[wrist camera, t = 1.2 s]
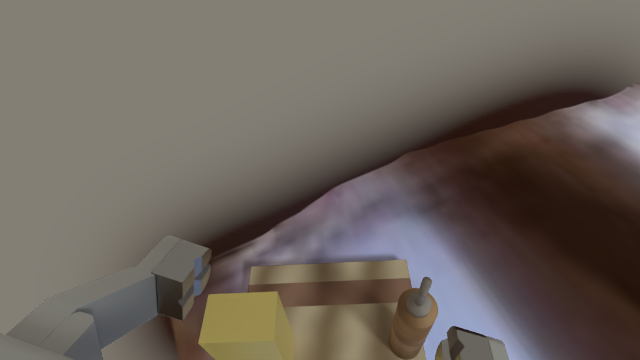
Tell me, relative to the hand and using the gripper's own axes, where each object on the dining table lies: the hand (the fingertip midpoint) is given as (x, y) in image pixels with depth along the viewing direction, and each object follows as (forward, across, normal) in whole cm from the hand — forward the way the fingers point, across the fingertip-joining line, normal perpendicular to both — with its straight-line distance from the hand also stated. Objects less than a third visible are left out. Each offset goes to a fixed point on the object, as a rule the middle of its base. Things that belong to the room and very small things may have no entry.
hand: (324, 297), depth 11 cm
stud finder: (+14, +3, +28) cm, 31 cm away
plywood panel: (+19, -2, +26) cm, 32 cm away
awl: (+18, -11, +23) cm, 31 cm away
